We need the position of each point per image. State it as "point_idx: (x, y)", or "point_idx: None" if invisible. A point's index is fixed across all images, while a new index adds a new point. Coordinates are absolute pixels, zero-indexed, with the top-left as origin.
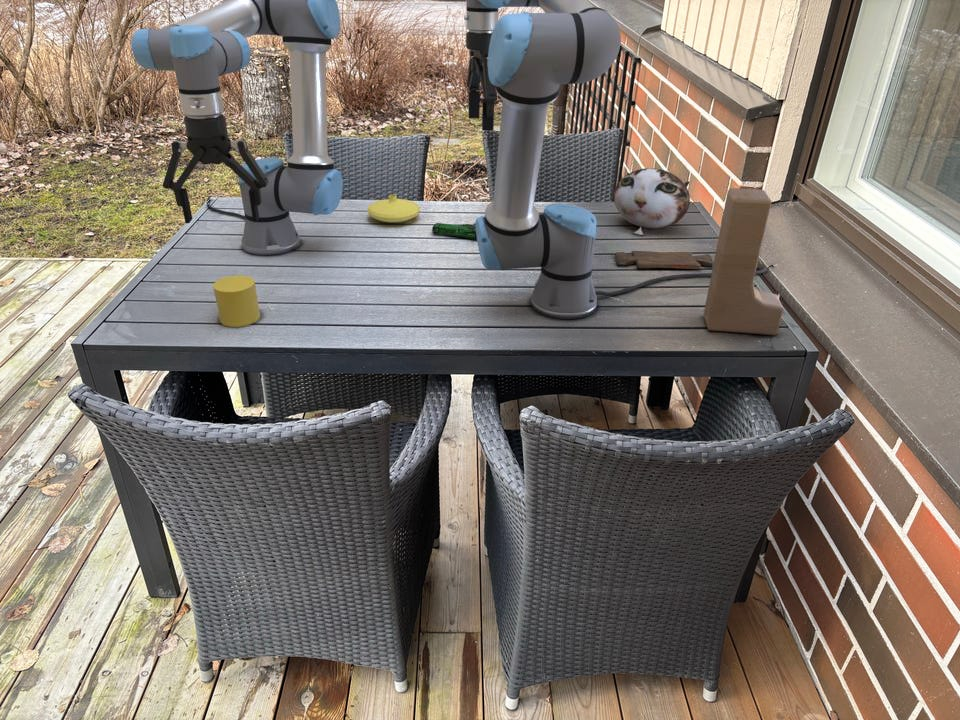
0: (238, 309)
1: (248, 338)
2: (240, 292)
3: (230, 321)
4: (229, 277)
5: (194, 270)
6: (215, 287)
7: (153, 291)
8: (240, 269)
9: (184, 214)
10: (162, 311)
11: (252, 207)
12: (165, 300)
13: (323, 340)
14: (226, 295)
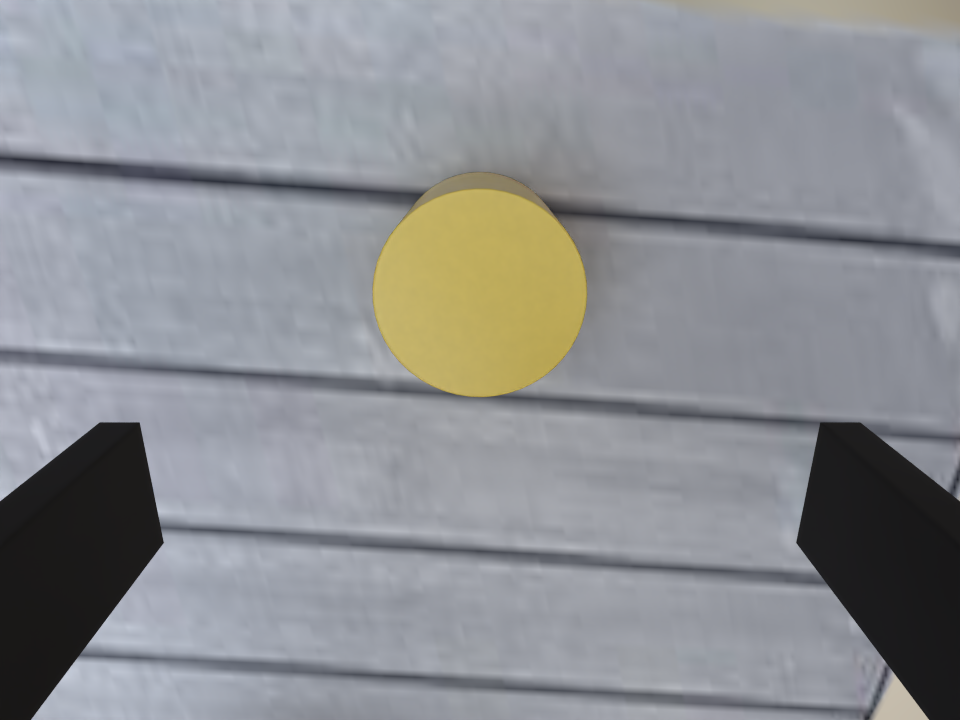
0: (455, 182)
1: (404, 56)
2: (427, 200)
3: (501, 176)
4: (518, 373)
5: (728, 662)
6: (568, 250)
7: None
8: (558, 662)
9: (914, 471)
10: (809, 337)
11: (8, 516)
12: (807, 431)
13: (60, 12)
14: (501, 188)
